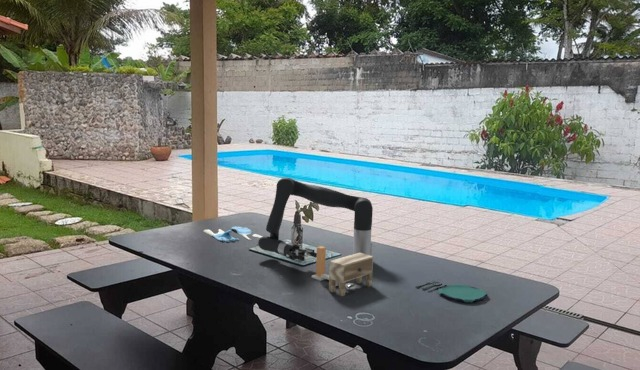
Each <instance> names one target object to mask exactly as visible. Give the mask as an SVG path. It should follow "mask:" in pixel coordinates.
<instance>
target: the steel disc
mask: <svg viewBox="0 0 640 370" xmlns="http://www.w3.org/2000/svg"><path fill="white" fill-rule="evenodd" d="M352 290H353V291H355V290H357V283H356V284H355V283H353V282H352V283H351V282H349V283H347V282H346V283H345V291H352ZM353 291H352V292H353Z"/></svg>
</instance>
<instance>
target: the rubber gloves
mask: <svg viewBox="0 0 640 370" xmlns="http://www.w3.org/2000/svg"><path fill="white" fill-rule="evenodd" d="M232 230H236V234H238V235H240V236H242V237H243V238H244V239H246V240H248V241H252V239H251V238H250V237H248V235H251V234H252V237H255V238H259V239H260V238H261V237H263V235H260V234H257V233H253V231H252V230H251V229H249V228H248V227H246V226H245V227H243V226H234V225H233V226H232V227H230V229H229V230H226V231H224V230H222V229H220V228H219V229H218V232H216V233H214V232H213V231H212V230H211V229H204V230H203V233H205V234H207V235H209V236H211V237H213V238H214V240H217V241H220V242H224V243H225V242H226V243H229V242H238V241H240V239H239V238H238V237H237V238H235V237H233V236H232V235H231V233H232V232H233V231H232Z"/></svg>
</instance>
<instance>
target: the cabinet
mask: <svg viewBox="0 0 640 370" xmlns="http://www.w3.org/2000/svg"><path fill="white" fill-rule="evenodd" d="M373 265H374V256H373V255H372V256H370V255H366V254H363V253H356V254H353V253H352V254H349V255H346V256H342V257H340V258H336V259H335V258H334V259H332V260H329V269H328V270H329V273H328V275H329V280H328V292H330V293H335V292H336V286H335V281H338V282H339V285H338V296H340V297H344V296H346V289H345V284H346V283H347V282H350V281H353V280H355V283H356V284H361V283H363V277H365V287H369V288H370V287H372V286H373V269H374V267H373ZM345 282H346V283H345Z"/></svg>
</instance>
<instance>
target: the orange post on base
mask: <svg viewBox="0 0 640 370" xmlns="http://www.w3.org/2000/svg"><path fill="white" fill-rule="evenodd" d="M326 249H327V248H326V246H323V245H319V246H317V247H316V253H317V257H316V258H315V259H316V264H315V274H312V275H311V278H312V279H314V280H317V281H319V282H321V281H324V280H328V281H329V274H327V273H326V253H327V252H326ZM345 284H347V282H345ZM335 287H339V282H338V281H335Z"/></svg>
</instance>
